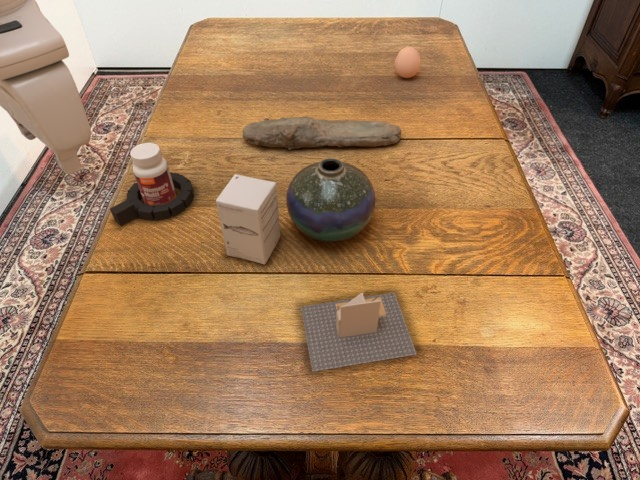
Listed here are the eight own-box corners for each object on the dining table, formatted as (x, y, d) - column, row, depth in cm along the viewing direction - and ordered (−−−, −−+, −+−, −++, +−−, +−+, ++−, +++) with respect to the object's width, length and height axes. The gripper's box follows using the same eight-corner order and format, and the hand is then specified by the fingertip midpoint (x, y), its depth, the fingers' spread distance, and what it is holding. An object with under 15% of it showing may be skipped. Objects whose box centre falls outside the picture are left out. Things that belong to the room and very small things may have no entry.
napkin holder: (334, 318, 71) (334, 287, 66) (378, 312, 72) (382, 280, 67) (338, 338, 69) (339, 307, 64) (384, 330, 70) (389, 299, 64)
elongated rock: (402, 157, 102) (396, 134, 110) (406, 136, 99) (400, 113, 106) (240, 151, 101) (245, 128, 109) (238, 129, 98) (244, 107, 105)
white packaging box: (225, 256, 80) (213, 200, 71) (244, 228, 85) (234, 171, 76) (265, 266, 79) (257, 210, 70) (282, 237, 84) (276, 180, 75)
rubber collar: (135, 239, 84) (130, 227, 82) (101, 208, 90) (96, 196, 88) (205, 198, 91) (202, 186, 89) (170, 172, 97) (167, 160, 95)
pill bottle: (148, 214, 88) (130, 164, 80) (141, 195, 92) (123, 146, 84) (180, 203, 90) (166, 154, 82) (172, 185, 94) (157, 137, 86)
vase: (271, 221, 86) (264, 162, 77) (334, 187, 93) (335, 128, 84) (325, 270, 78) (325, 209, 69) (390, 228, 85) (398, 168, 75)
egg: (392, 71, 128) (395, 41, 123) (417, 71, 128) (421, 42, 122) (394, 82, 124) (397, 52, 118) (419, 82, 123) (424, 53, 118)
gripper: (-87, 5, 46) (-14, 129, 56) (-6, 69, 36) (66, 206, 46) (-19, -11, 49) (39, 108, 59) (73, 43, 39) (124, 176, 49)
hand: (51, 151), depth 52 cm, fingers open, 8 cm apart
